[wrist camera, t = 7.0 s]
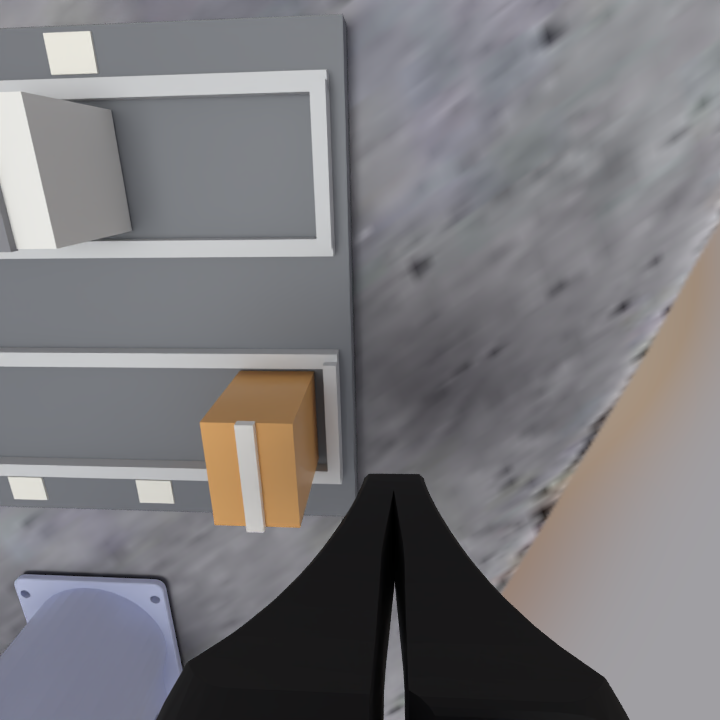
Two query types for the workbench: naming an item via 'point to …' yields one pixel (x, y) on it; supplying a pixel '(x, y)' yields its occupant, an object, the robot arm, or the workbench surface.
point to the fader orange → (262, 449)
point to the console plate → (183, 260)
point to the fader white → (58, 174)
